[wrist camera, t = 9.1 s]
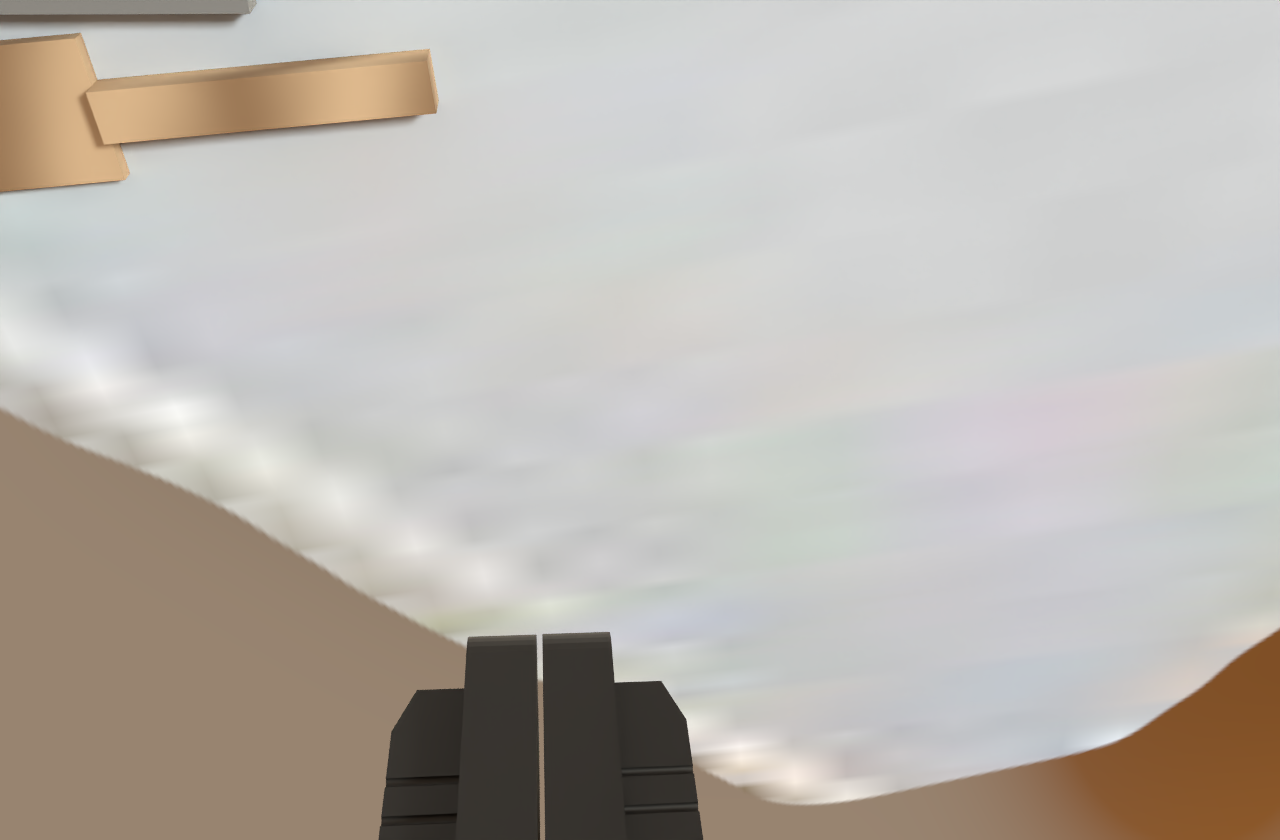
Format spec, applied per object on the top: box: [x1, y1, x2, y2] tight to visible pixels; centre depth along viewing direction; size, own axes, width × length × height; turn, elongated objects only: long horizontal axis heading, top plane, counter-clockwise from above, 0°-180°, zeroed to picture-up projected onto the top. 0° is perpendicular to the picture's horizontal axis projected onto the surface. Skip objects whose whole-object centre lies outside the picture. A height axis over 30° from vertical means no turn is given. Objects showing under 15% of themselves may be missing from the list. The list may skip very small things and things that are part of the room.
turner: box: [0, 33, 439, 192], centre depth 35 cm, size 16×4×1 cm, turn 94°
